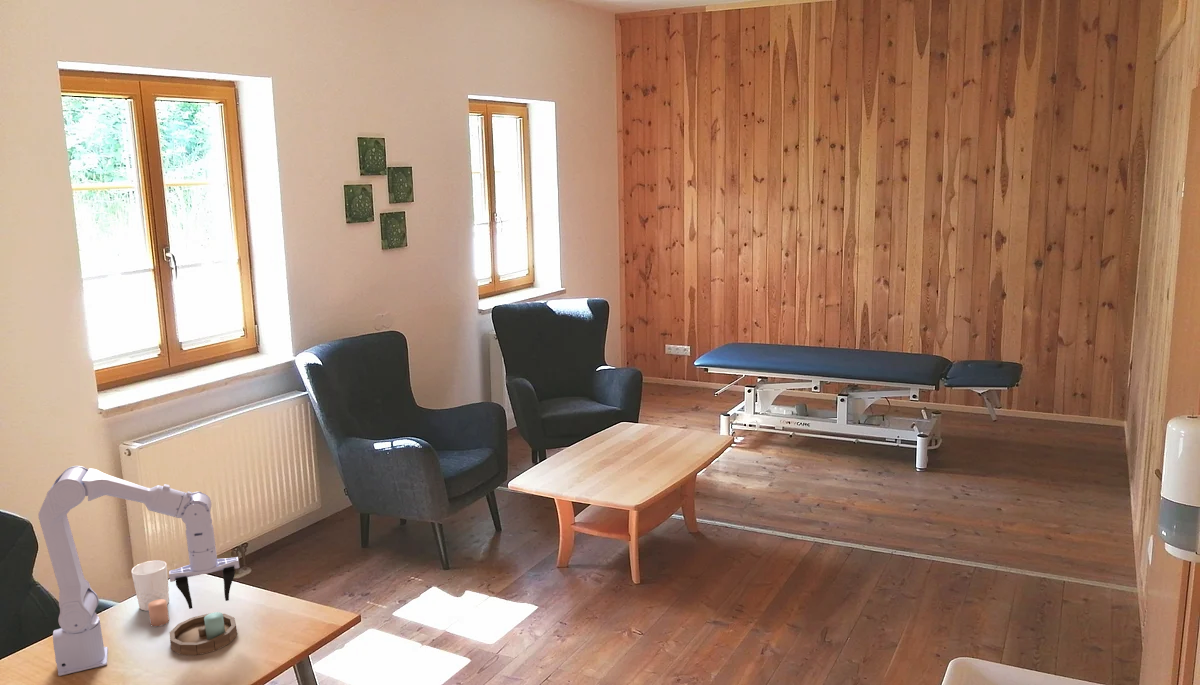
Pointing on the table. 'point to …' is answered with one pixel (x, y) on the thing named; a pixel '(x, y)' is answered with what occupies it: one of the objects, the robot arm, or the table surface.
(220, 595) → the table surface
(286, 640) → the table surface
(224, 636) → the tray
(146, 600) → the white cup
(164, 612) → the peach rounded cylinder
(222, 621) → the pale teal rounded piece
